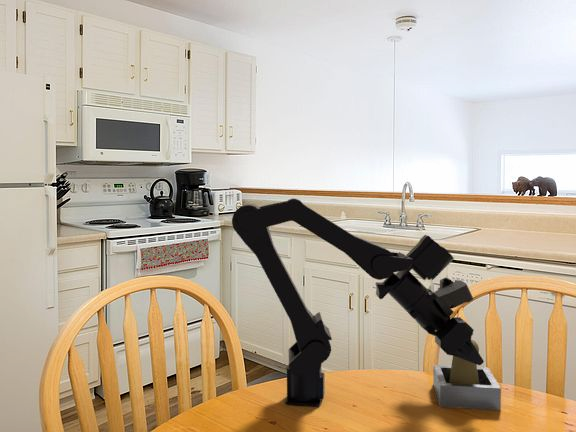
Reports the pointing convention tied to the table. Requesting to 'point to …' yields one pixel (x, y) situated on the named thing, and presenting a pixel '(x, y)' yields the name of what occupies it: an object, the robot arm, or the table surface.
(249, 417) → the table surface
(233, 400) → the table surface
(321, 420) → the table surface
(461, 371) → the olive pawn
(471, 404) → the open gray box
